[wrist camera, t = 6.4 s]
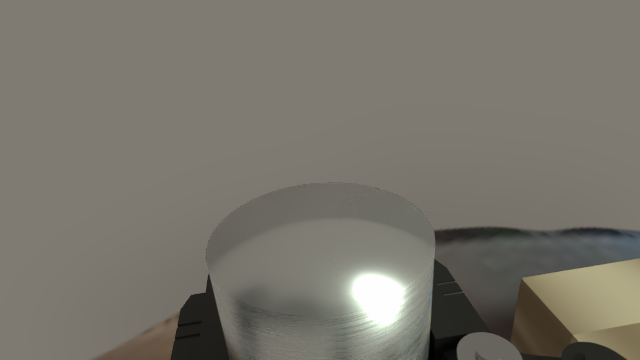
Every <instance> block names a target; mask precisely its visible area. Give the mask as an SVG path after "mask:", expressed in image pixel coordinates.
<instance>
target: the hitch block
mask: <svg viewBox="0 0 640 360" xmlns="http://www.w3.org/2000/svg"><path fill="white" fill-rule="evenodd" d="M575 342H592V343H596V344H600V345H603V346H605V347H608V348H610V349H612V350H614V351H615V352H617V353H618V354H620V355H621V356H623V357H624V358H626V359H627V360H640V259H634V260H628V261H622V262H616V263H610V264H604V265H598V266H592V267H586V268H580V269H573V270H567V271H561V272H555V273H549V274H543V275H537V276H531V277H525V278H521V283H520V289H519V294H518V300H517V306H516V312H515V317H514V323H513V329H512V335H511V340H510V343H511V344H513V345H514V346H515V347H516V348H517V350H518V351H519V352H521V353H525V354H531V355H540V356H549V357H559V358H561V356H562V352H563V350H564V349H565V347H566V346H568V345H569V344H572V343H575Z"/></svg>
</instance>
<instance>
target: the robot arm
mask: <svg viewBox="0 0 640 360" xmlns="http://www.w3.org/2000/svg"><path fill="white" fill-rule="evenodd" d="M171 360H230V359H229V355H228V351H227V346H226V342H225V338H224V334H223V329H222V325H221V321H220V317H219V313H218V308H217V304H216V300H215V296H214V291H213V287H212V283H211V279H210V274H209V275H208V280H207V288H206V293H201V294H194V295H191V296H190V298H189V299H188V300H187V302H186V303H185V304H184V306H183V307H182V308H181V311H180V316H179V320H178V328H177V330H176V335H175V341H174V345H173V350H172V355H171ZM428 360H627V359H626V358H624V357H623V356H621V355H620V354H618V353H617V352H615V351H614V350H612V349H610V348H608V347H605V346H603V345H600V344H596V343H592V342H575V343H572V344H569V345H568V346H566V347H565V349H564V350H563V352H562V356H561V358H559V357H549V356H540V355H531V354H525V353H521V352H519V351H518V350H517V348H516V347H515V346H514V345H513V344H511V343H510V342H509V341H507V340H506V339H504V338H502V337H500V336H498V335H495V334H491V332H490V331H489V330H488V328H487V327H486V325H485V324H484V322H483V321H482V319H481V318H480V316H479V315H478V313H477V312H476V311H475V309H474V308H473V306H472V305H471V303H470V302H469V300H468V299H467V297H466V296H465V294H464V293H462V290H461V288H460V287H459V285H458V284H457V283H455V280H454V278H453V277H452V275H451V274H450V272H449V271H448V269H447V268H446V267H445V266H443V265H442V264H440V263H439V262H438V261H436V260H435V259H434V271H433V289H432V306H431V323H430V341H429V358H428Z"/></svg>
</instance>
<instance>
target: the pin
mask: <svg viewBox="0 0 640 360" xmlns="http://www.w3.org/2000/svg"><path fill="white" fill-rule="evenodd" d="M434 254H435V235H434V231H433V228H432V225H431V223H430V222H429V220H428V219H427V217H426V216H425V215H424V214H423V213H422V211H421V210H420V209H418V208H417V207H416V206H415V205H414V204H412V203H411V202H409V201H407V200H406V199H404V198H402V197H400V196H398V195H396V194H394V193H391V192H388V191H386V190H382V189H379V188H375V187H371V186H366V185H360V184H352V183H332V182H328V183H313V184H304V185H299V186H293V187H288V188H284V189H280V190H277V191H273V192H270V193H268V194H265V195H262V196H260V197H258V198H256V199H253V200H251V201H249V202H247V203H246V204H244V205H242V206H240V207H239V208H237V209H236V210H234V211H233V212H232V213H230V214H229V215H228V216H227V217H226V218H225V219H223V221H222V222H221V223H220V224H219V225H218V226H217V227H216V229H215V230H214V232H213V233H212V235H211V237H210V239H209V241H208V245H207V249H206V260H207V266H208V270H209V274H210V279H211V283H212V287H213V291H214V296H215V300H216V304H217V308H218V313H219V317H220V321H221V325H222V329H223V334H224V338H225V342H226V346H227V351H228V355H229V359H230V360H428V358H429V341H430V323H431V306H432V289H433V271H434Z"/></svg>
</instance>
